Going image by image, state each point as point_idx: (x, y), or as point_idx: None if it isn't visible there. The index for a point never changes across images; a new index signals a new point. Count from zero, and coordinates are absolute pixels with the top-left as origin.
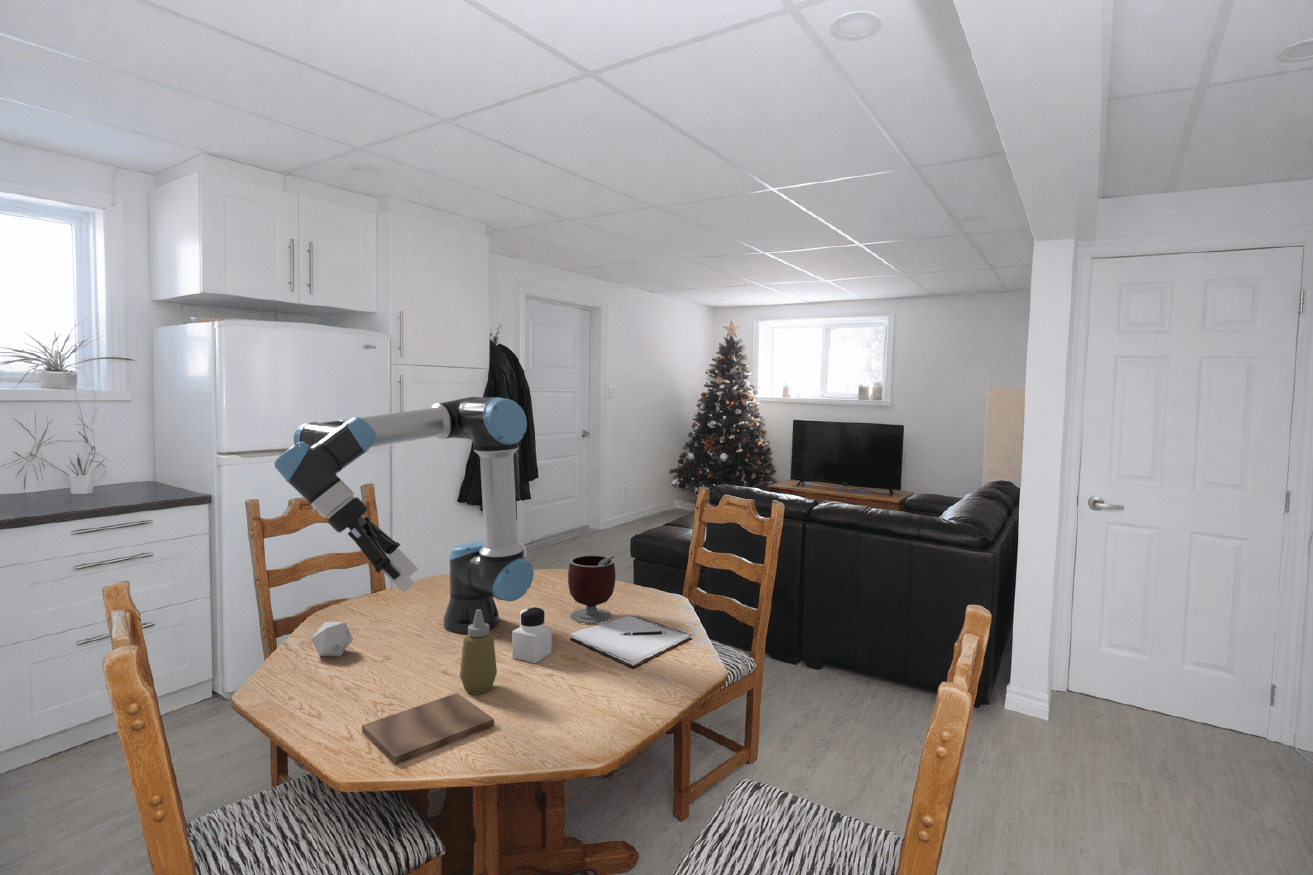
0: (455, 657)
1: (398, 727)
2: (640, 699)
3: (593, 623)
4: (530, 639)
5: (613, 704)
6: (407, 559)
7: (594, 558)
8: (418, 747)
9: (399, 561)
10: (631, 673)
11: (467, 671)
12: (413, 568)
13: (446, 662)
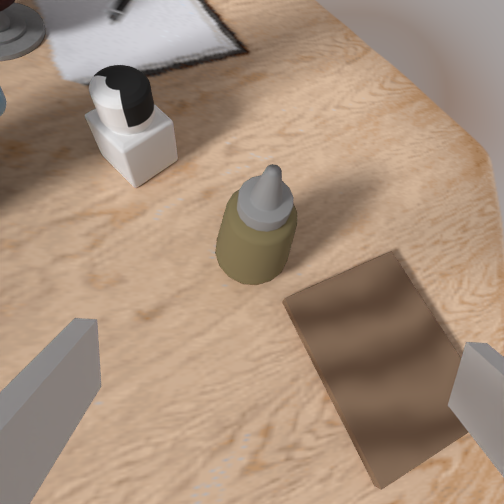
0: (77, 289)
1: (399, 410)
2: (344, 76)
3: (41, 38)
4: (165, 134)
5: (351, 105)
6: (42, 386)
7: None
8: None
9: (30, 461)
10: (264, 59)
11: (280, 266)
12: (87, 347)
13: (96, 309)
